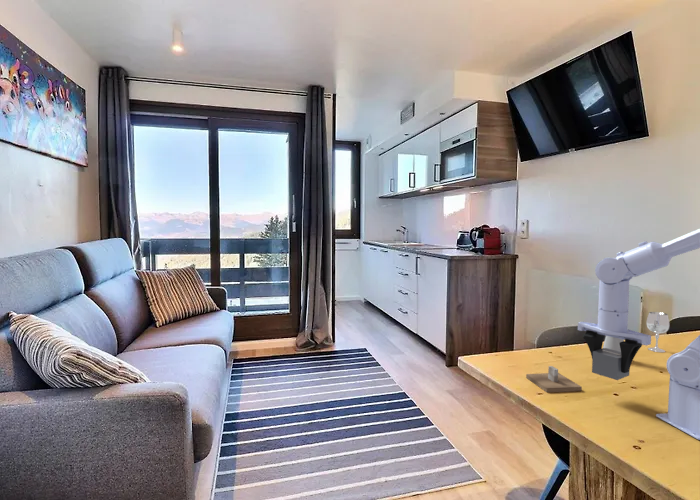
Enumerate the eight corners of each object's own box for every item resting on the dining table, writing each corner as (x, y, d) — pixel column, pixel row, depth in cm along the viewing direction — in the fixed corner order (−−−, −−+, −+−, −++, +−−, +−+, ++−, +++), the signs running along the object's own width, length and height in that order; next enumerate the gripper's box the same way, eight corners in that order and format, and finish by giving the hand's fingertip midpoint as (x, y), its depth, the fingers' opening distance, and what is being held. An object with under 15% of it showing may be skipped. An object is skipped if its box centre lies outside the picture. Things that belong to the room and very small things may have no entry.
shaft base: (581, 390, 95) (582, 373, 94) (546, 392, 94) (547, 375, 93) (558, 376, 103) (558, 361, 103) (526, 377, 103) (526, 362, 102)
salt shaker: (628, 362, 114) (631, 318, 113) (607, 361, 115) (609, 318, 114) (619, 356, 120) (621, 314, 119) (598, 354, 121) (600, 313, 120)
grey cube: (629, 375, 89) (630, 353, 89) (617, 380, 86) (618, 357, 86) (604, 368, 94) (604, 347, 93) (591, 372, 91) (592, 351, 91)
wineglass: (640, 348, 127) (642, 312, 127) (653, 346, 129) (655, 310, 128) (659, 353, 122) (661, 316, 121) (672, 352, 124) (674, 314, 123)
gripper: (658, 313, 85) (655, 374, 86) (589, 302, 97) (587, 355, 98) (643, 317, 81) (640, 381, 82) (573, 305, 94) (571, 360, 95)
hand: (610, 367), depth 90 cm, fingers closed on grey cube, 5 cm apart
